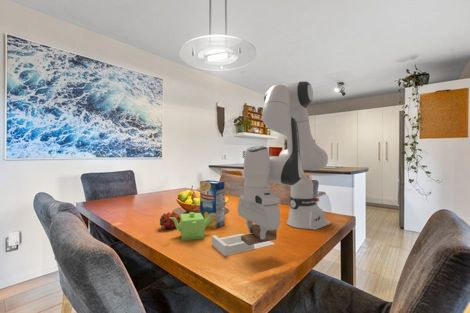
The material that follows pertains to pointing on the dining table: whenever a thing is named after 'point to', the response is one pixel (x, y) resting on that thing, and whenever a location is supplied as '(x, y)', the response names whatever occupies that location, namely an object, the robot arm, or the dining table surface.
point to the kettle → (191, 226)
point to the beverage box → (213, 202)
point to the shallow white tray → (235, 244)
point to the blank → (254, 237)
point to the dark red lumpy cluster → (169, 220)
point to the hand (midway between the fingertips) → (256, 235)
